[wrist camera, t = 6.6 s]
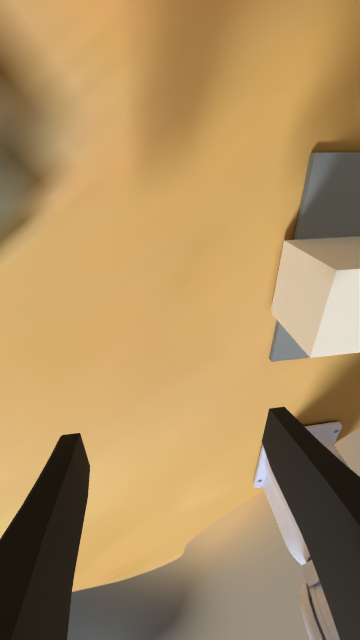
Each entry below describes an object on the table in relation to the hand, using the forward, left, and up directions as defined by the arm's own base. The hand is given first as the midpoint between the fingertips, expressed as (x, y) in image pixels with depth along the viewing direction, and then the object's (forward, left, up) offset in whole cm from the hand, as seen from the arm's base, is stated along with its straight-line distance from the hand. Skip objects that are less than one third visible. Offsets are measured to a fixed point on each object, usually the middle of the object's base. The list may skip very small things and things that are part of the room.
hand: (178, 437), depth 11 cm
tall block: (+2, -8, -6) cm, 10 cm away
